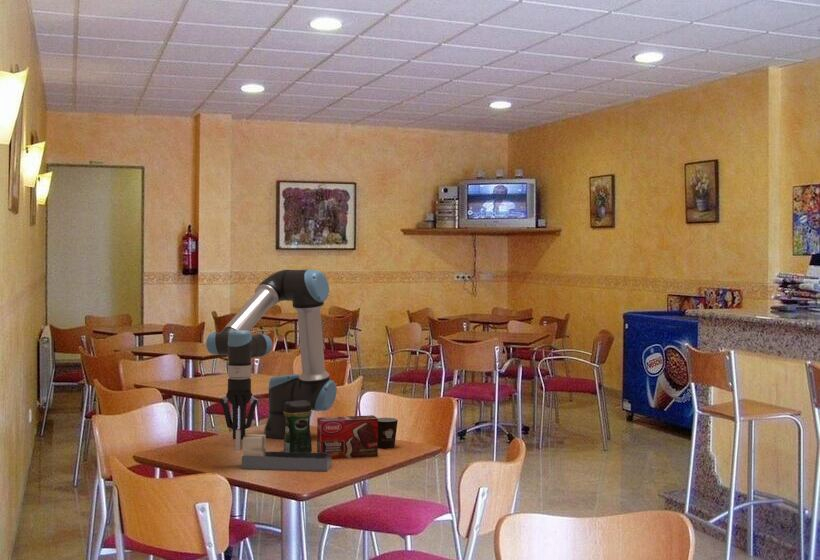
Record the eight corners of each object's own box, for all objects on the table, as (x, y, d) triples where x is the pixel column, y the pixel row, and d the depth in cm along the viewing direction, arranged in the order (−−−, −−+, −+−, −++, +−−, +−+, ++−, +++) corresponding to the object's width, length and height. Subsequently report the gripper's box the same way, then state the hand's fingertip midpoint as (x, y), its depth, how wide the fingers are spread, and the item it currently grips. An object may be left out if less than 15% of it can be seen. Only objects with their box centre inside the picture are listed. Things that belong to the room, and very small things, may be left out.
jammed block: (247, 458, 303) (247, 434, 303) (265, 458, 303) (265, 434, 303) (242, 462, 298) (243, 437, 297) (261, 462, 297) (261, 438, 297)
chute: (248, 462, 305) (248, 450, 305) (331, 465, 303) (331, 453, 302) (241, 468, 296) (241, 456, 296) (327, 471, 294) (327, 458, 294)
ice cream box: (320, 459, 311) (320, 420, 311) (317, 455, 317) (317, 417, 317) (377, 456, 317) (377, 418, 316) (372, 452, 323) (373, 415, 323)
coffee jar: (305, 450, 326) (306, 398, 326) (314, 454, 319) (314, 401, 319) (280, 452, 322) (280, 399, 321) (288, 456, 315) (288, 403, 314)
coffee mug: (398, 444, 337) (399, 417, 336) (396, 449, 328) (396, 421, 328) (367, 443, 338) (367, 417, 338) (364, 448, 329) (364, 421, 329)
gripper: (216, 378, 297) (216, 451, 297) (255, 379, 296) (255, 452, 296) (223, 375, 304) (223, 446, 305) (261, 376, 303) (261, 447, 304)
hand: (239, 449), depth 301 cm, fingers closed
